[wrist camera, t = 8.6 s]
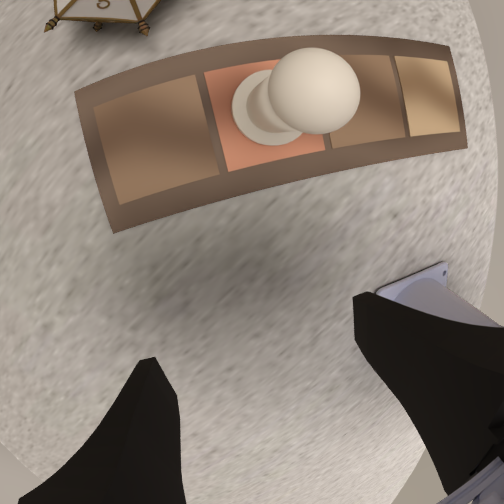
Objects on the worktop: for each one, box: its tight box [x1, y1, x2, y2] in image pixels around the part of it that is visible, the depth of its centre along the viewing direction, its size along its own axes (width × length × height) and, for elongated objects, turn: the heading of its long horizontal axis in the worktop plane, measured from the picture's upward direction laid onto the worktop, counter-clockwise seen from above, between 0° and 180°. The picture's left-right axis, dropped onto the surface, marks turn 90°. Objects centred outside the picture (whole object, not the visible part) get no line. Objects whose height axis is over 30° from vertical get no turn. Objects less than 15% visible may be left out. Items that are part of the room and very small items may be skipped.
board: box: [74, 35, 468, 234], centre depth 16 cm, size 9×28×1 cm, turn 103°
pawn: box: [231, 48, 360, 146], centre depth 12 cm, size 4×4×8 cm
